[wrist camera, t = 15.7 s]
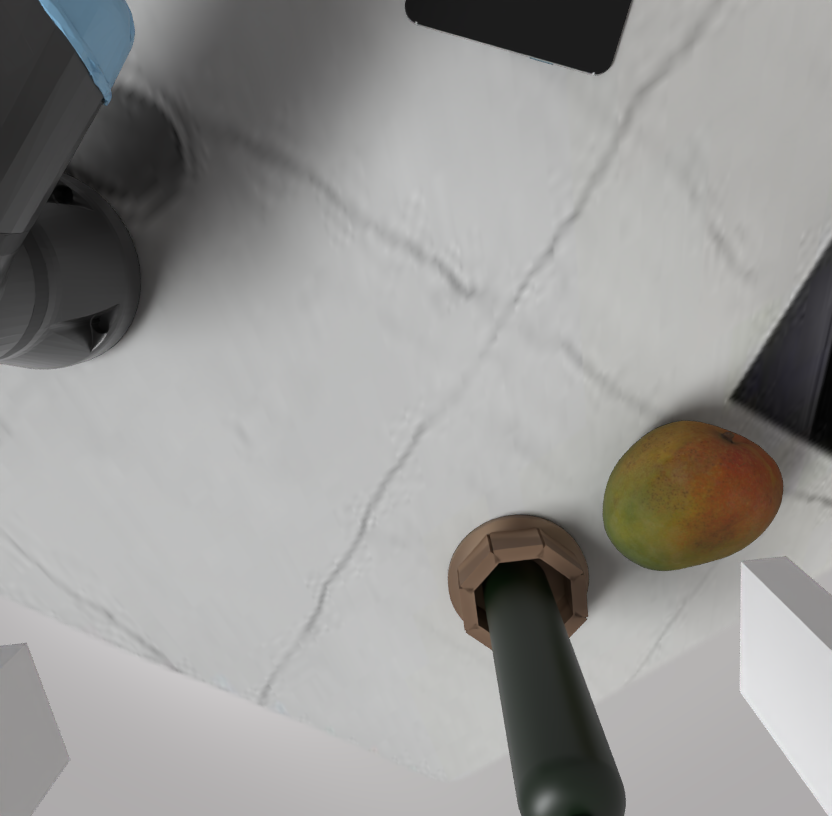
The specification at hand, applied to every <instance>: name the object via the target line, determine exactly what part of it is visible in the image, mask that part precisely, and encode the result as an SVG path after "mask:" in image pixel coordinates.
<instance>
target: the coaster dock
mask: <svg viewBox="0 0 832 816" xmlns="http://www.w3.org/2000/svg"><path fill="white" fill-rule="evenodd" d="M528 559H531V560H533V561H534V562H536V563H537V564H538V565H540V566H541V568H542V569H543V570H544V572H545V574H546V577H547V579H548V582H549V585H550V587H551V590H552V593H553V596H554V598H555V601H556V604H557V606H558V609H559V612H560V615H561V617H562V620H563V623H564V625H565V628H566V631H567V634H568V636H569V638H570V636H571V635H572V634H573V633H574V632H575V631H576V630H577V629H578V628H579V627H580V626H581V625H582V624H583V623H584V622H585V621H586V620H587V618H586V617H588V608H587V595H586V594H587V591H588V585H589V573H588V566H587V563H586V560H585V557H584V555H583V553H582V551H581V549H580V547H579V546H578V544H577V543H576V541H575V540H574V539H573V538H572V536H571V535H570V534H569V533H568V532H566V531H565V530H564V529H563V528H561V527H560V526H558V525H557V524H555V523H553V522H551V521H548V520H546V519H543V518H540V517H535V516H530V515H509V516H504V517H499V518H496V519H493V520H490V521H488V522H486V523H484V524H482V525H480V526H479V527H477V528H475V529H474V530H473V531H472V532H470V533H469V534H468V535H467V536H466V537H465V538H464V539H463V540H462V541H461V543H460V544H459V545H458V547H457V549H456V550H455V552H454V554H453V556H452V559H451V562H450V566H449V570H448V587H449V594H450V599H451V601H452V604H453V606H454V608H455V610H456V612H457V613H458V615H459V616H460V617H461V619H462V620H463V621H464V628H465V630H466V633H467V634H469V635H470V636H472V637H473V638H475V639H476V640H478V641H479V642H481V643H482V644H484V645H485V646H487V647H488V648H490V649H491V650H492V645H491V639H490V633H489V627H488V621H487V615H486V608H485V602H484V596H483V590H482V582H483V580H484V579H485V578H486V577H487V576H488V575H489V574H490V573H491V571H492V570H493V569H494V568H495V567H496V566H497V565H498V564H499V563H503V562H511V561H520V560H528Z"/></svg>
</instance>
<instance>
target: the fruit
mask: <svg viewBox="0 0 832 816" xmlns="http://www.w3.org/2000/svg"><path fill="white" fill-rule="evenodd" d="M782 495H783V480H782V476H781V472H780V470H779V468H778V466H777V464H776V463H775V461H774V460H773V458H771V457H770V456H769V455H768V454H767V453H766V452H765V451H764V450H763V449H762V448H761V447H760V446H758V445H757V444H755V443H754V442H752V441H750V440H748V439H747V438H745V437H743V436H741V435H738V434H736V433H733V432H731V431H728V430H725V429H723V428H720V427H717V426H714V425H710V424H707V423H703V422H697V421H678V422H672V423H669V424H666V425H663V426H661V427H658V428H656V429H654V430H652V431H651V432H649V433H647V434H646V435H645V436H643V437H642V438H641V439H640V440H638V441H637V442H636V443H635V444H634V445H633V446H631V448H630V449H629V450H628V451H627V452H626V453H625V454H624V455H623V456H622V458H621V459H620V460H619V461H618V463H617V464H616V466H615V467H614V469H613V471H612V473H611V475H610V477H609V480H608V483H607V486H606V490H605V494H604V501H603V521H604V527H605V531H606V533H607V535H608V537H609V539H610V540H611V542H612V544H613V545H614V546H615V547H616V549H617V550H618V551H619V552H621V553H622V554H623V555H624V556H625V557H626V558H628V559H629V560H631V561H632V562H634V563H636V564H638V565H640V566H642V567H644V568H647V569H651V570H657V571H670V570H678V569H683V568H687V567H692V566H696V565H700V564H704V563H708V562H711V561H715V560H718V559H722V558H725V557H727V556H730V555H732V554H734V553H736V552H738V551H740V550H742V549H743V548H745V547H746V546H748V545H749V544H750V543H752V542H753V541H754V540H756V539H757V538H758V537H759V536H760V535H761V534H762V533H763V532H764V531H765V530H766V529H767V527H768V526H769V525H770V523H771V522H772V521H773V519H774V517H775V515H776V514H777V512H778V509H779V507H780V504H781V501H782Z"/></svg>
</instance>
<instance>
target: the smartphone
mask: <svg viewBox="0 0 832 816" xmlns="http://www.w3.org/2000/svg"><path fill="white" fill-rule="evenodd" d="M630 3H631V0H406V2H405V11H406V15H407V17H408V18H409V20H410V21H411V22H412V23H414V24H416V25H419V26H422V27H426V28H429V29H433V30H436V31H440V32H443V33H447V34H450V35H454V36H457V37H461V38H464V39H468V40H471V41H475V42H478V43H482V44H485V45H488V46H492V47H495V48H499V49H502V50H506V51H509V52H513V53H516V54H520V55H523V56H527V57H530V58H531V59H534V60H538V61H541V62H545V63H548V64H552V65H553V64H555V65H558V66H562V67H565V68H569V69H572V70H575V71H579V72H582V73H586V74H589V75H600V74H602V73H604V72H605V71H606V70H607V69H608V68H609V67H610V65H611V63H612V61H613V58H614V54H615V51H616V48H617V45H618V42H619V38H620V35H621V32H622V29H623V25H624V22H625V19H626V16H627V13H628V9H629V6H630Z"/></svg>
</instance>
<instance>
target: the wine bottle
mask: <svg viewBox="0 0 832 816" xmlns="http://www.w3.org/2000/svg"><path fill="white" fill-rule="evenodd" d="M482 590H483V596H484V602H485V608H486V615H487V621H488V627H489V633H490V639H491V645H492V651H493V657H494V663H495V669H496V675H497V681H498V687H499V693H500V699H501V705H502V711H503V717H504V724H505V730H506V736H507V742H508V748H509V754H510V759H511V765H512V772H513V778H514V784H515V790H516V796H517V802H518V807H519V810H520V813H521V816H624V813H625V806H626V798H625V791H624V786H623V783H622V780H621V777H620V775H619V772H618V769H617V766H616V764H615V761H614V758H613V756H612V753H611V750H610V747H609V745H608V742H607V740H606V737H605V734H604V731H603V728H602V726H601V723H600V720H599V718H598V715H597V713H596V709H595V707H594V704H593V701H592V699H591V696H590V693H589V691H588V688H587V685H586V682H585V680H584V677H583V674H582V672H581V669H580V666H579V663H578V661H577V658H576V655H575V653H574V650H573V647H572V644H571V642H570V639H569V636H568V634H567V631H566V628H565V625H564V623H563V620H562V617H561V615H560V612H559V609H558V606H557V604H556V601H555V598H554V596H553V593H552V590H551V587H550V585H549V582H548V579H547V577H546V574H545V572H544V570H543V569H542V568H541V566H540V565H538V564H537V563H536V562H534V561H533V560H531V559H528V560H520V561H511V562H503V563H499V564H498V565H497V566H496V567H495V568H494V569H493V570H492V571H491V573H490V574H489V575H488V576H487V577H486V578H485V579H484V580H483V582H482Z"/></svg>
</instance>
